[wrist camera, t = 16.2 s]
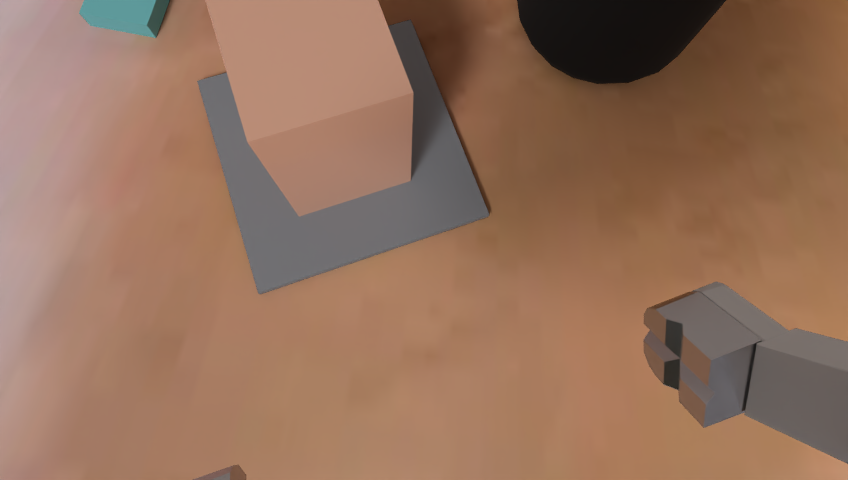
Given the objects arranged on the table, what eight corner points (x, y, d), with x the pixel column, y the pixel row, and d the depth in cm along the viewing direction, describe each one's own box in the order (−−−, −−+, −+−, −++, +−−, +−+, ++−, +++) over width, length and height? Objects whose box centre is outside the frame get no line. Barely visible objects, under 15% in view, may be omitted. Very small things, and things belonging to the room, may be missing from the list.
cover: (299, 216, 28) (247, 142, 19) (267, 114, 30) (204, -2, 20) (410, 180, 29) (413, 92, 20) (374, 82, 30) (361, -43, 21)
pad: (260, 294, 27) (258, 293, 27) (200, 84, 30) (197, 80, 30) (488, 216, 29) (489, 214, 29) (410, 23, 32) (410, 19, 31)
